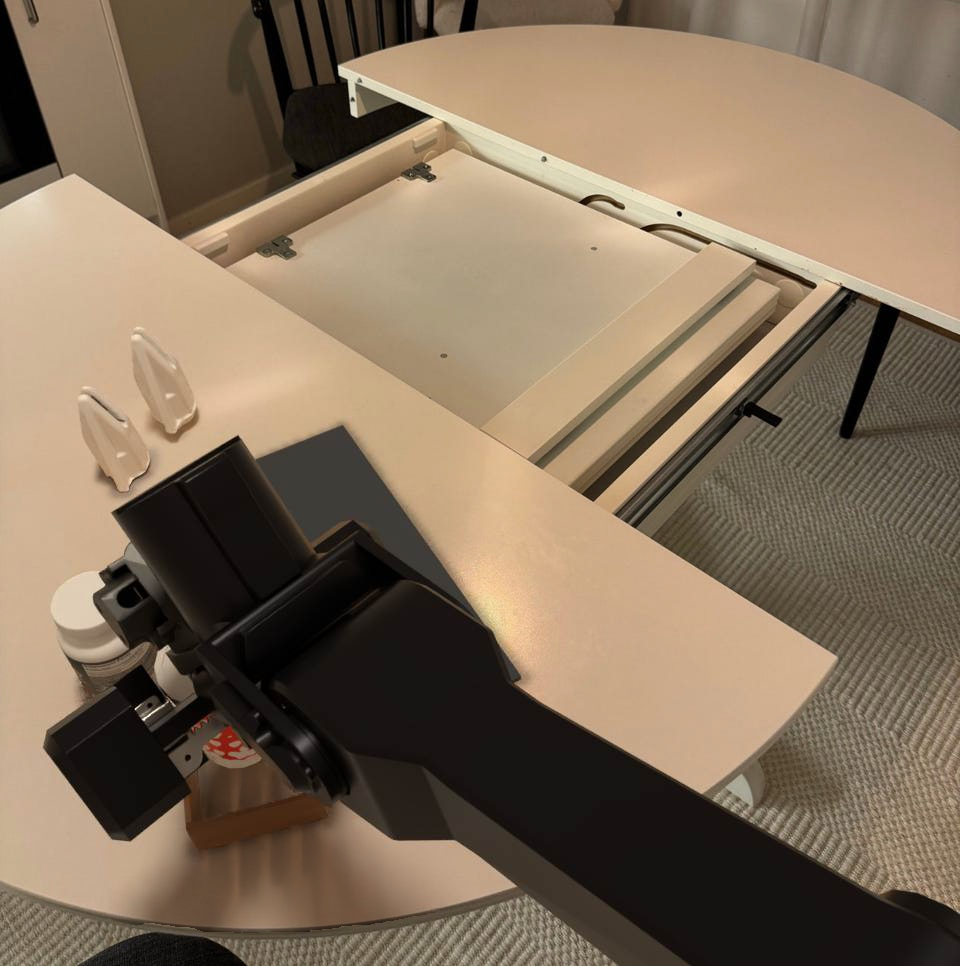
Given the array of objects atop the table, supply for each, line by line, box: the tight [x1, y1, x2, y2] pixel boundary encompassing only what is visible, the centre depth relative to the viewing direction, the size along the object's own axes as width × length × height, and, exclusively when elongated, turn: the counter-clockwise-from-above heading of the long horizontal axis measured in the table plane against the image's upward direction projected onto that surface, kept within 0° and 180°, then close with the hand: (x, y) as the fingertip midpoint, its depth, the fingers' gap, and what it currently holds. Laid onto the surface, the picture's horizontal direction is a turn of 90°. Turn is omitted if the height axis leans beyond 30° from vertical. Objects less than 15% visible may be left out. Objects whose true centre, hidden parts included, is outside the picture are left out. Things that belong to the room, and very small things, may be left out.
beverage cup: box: [154, 645, 263, 769], centre depth 55 cm, size 6×6×14 cm
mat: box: [254, 424, 522, 684], centre depth 76 cm, size 30×9×1 cm, turn 31°
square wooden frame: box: [183, 729, 330, 852], centre depth 63 cm, size 8×8×4 cm
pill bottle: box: [49, 570, 158, 699], centre depth 66 cm, size 6×6×10 cm
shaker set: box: [77, 326, 198, 493], centre depth 81 cm, size 12×4×11 cm, turn 152°
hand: (204, 659), depth 55 cm, fingers closed on beverage cup, 6 cm apart
